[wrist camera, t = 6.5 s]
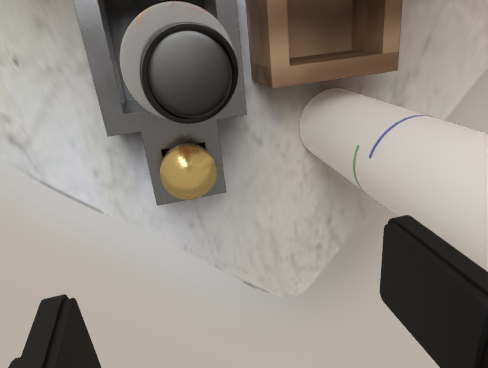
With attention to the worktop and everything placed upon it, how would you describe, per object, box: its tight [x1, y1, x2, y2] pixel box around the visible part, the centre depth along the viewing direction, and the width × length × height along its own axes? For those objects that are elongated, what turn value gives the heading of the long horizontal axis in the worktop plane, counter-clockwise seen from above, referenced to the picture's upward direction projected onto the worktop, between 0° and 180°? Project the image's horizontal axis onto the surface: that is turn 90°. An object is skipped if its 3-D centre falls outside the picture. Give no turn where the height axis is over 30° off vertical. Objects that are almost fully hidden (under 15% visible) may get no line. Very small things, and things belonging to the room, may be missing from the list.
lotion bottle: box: [120, 1, 239, 124], centre depth 23 cm, size 6×6×20 cm
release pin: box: [160, 143, 217, 200], centre depth 32 cm, size 4×4×6 cm
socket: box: [73, 0, 247, 206], centre depth 31 cm, size 18×11×5 cm, turn 5°
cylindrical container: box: [299, 88, 488, 272], centre depth 27 cm, size 7×7×25 cm
